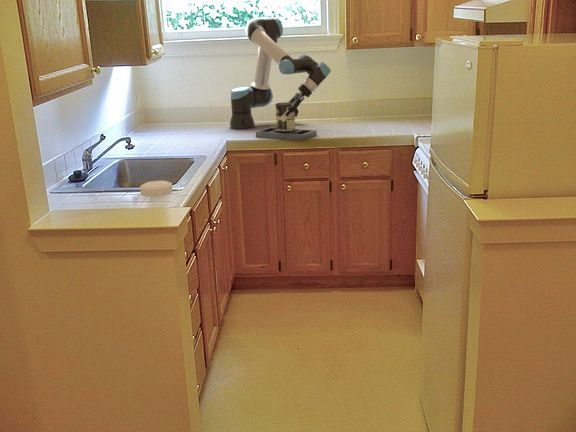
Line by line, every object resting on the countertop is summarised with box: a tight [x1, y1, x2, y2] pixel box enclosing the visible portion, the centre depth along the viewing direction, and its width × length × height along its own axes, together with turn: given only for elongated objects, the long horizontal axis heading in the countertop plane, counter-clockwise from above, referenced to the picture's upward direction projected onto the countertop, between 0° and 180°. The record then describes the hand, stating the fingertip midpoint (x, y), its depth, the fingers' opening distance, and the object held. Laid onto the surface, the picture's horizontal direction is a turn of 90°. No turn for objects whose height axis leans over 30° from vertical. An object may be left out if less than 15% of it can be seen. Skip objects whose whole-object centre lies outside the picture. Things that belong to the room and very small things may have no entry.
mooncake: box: [139, 179, 173, 197], centre depth 232 cm, size 12×12×4 cm
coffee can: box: [275, 101, 296, 131], centre depth 331 cm, size 10×10×14 cm
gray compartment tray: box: [255, 126, 318, 141], centre depth 334 cm, size 30×15×3 cm, turn 59°
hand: (280, 118), depth 331 cm, fingers closed on coffee can, 10 cm apart
